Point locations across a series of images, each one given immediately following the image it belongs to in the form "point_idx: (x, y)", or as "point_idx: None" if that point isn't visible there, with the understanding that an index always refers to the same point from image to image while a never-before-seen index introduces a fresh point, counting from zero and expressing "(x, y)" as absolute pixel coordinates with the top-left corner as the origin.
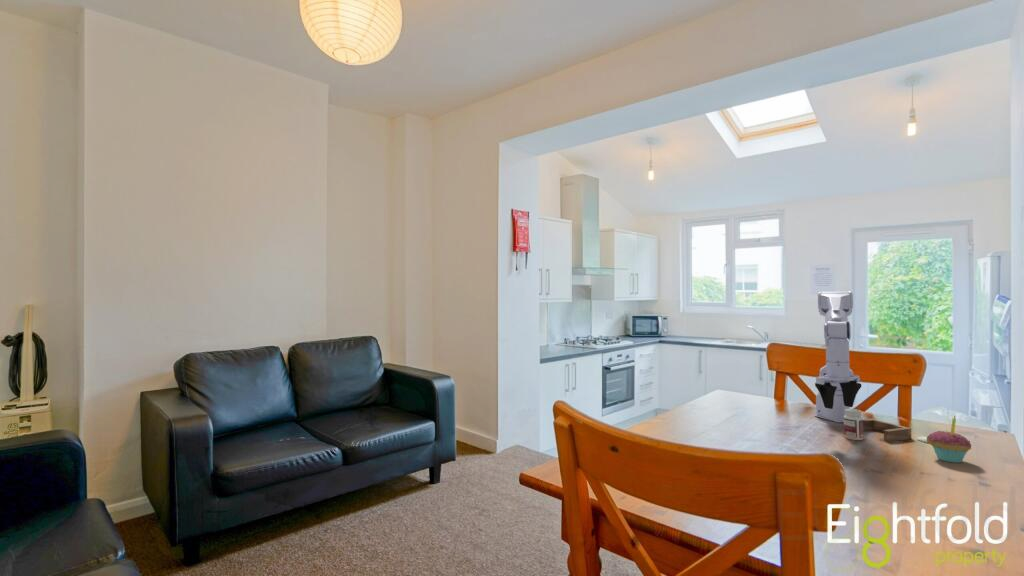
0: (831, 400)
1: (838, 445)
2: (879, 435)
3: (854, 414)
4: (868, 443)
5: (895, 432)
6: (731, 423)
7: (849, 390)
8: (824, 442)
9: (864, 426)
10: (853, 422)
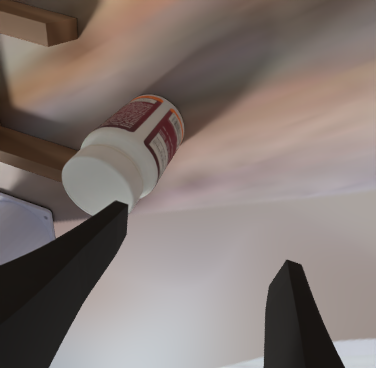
0: (320, 322)
1: (320, 117)
2: (38, 83)
3: (128, 166)
4: (176, 55)
5: (6, 9)
6: None
7: (51, 310)
8: (317, 166)
9: (30, 145)
10: (155, 147)
